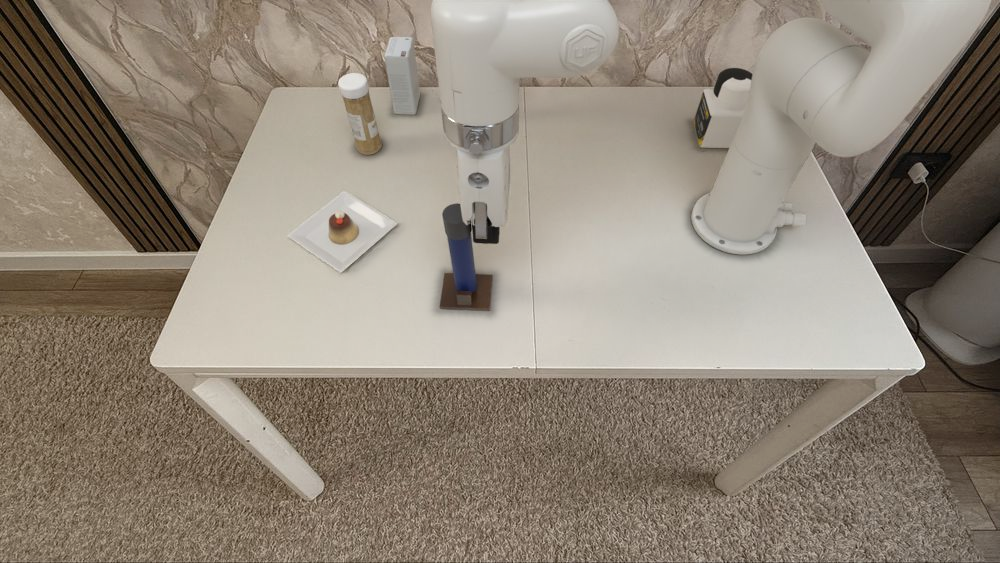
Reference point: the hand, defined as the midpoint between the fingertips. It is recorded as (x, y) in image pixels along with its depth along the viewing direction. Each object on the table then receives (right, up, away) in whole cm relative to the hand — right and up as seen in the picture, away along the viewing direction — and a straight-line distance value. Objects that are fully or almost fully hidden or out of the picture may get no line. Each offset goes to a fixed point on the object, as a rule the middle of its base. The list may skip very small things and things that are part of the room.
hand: (486, 238), depth 69 cm
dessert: (-22, +2, +17) cm, 28 cm away
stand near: (-3, -7, +10) cm, 13 cm away
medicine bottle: (+40, +20, +29) cm, 54 cm away
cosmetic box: (-16, +28, +35) cm, 47 cm away
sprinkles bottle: (-21, +18, +28) cm, 40 cm away
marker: (-3, -6, +8) cm, 10 cm away
